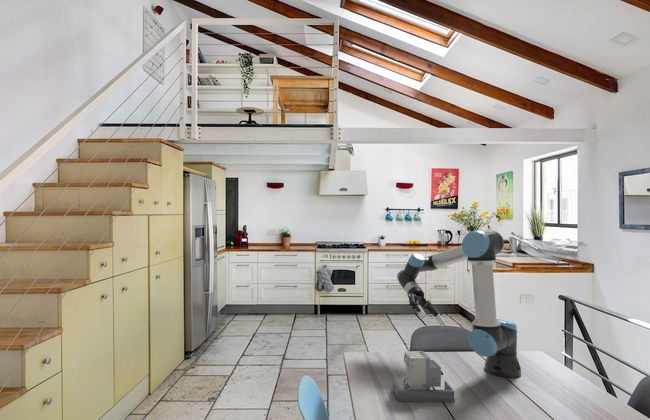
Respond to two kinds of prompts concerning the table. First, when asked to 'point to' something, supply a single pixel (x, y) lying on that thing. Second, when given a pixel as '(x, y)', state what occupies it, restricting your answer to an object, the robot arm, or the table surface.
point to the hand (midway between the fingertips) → (433, 321)
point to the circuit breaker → (421, 371)
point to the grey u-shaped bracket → (424, 394)
